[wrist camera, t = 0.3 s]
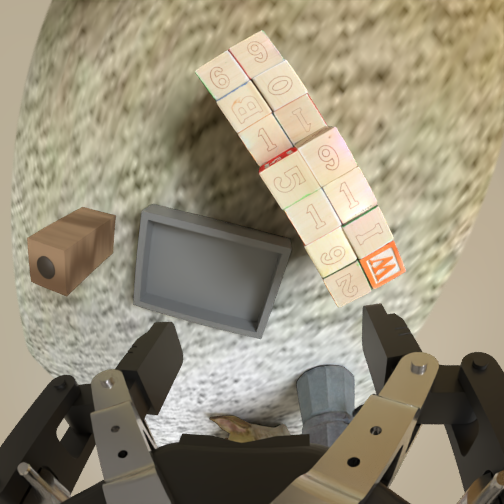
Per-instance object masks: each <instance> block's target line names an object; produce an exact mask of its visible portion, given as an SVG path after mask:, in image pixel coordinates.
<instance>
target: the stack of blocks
mask: <svg viewBox="0 0 504 504" xmlns="http://www.w3.org/2000/svg"><path fill="white" fill-rule="evenodd" d="M195 73H196V75H197V76H198V77H199V79H200V80H201V81H202V83H203V84H204V85H205V87H206V88H207V90H208V91H209V93H210V94H211V95H212V96H213V98H214V99H215V100H216V103H217V105H218V106H219V108H220V109H221V111H222V112H223V114H224V115H225V116H226V118H227V119H228V121H229V122H230V124H231V125H232V127H233V128H234V130H235V131H236V132H237V134H238V136H239V137H240V139H241V140H242V142H243V143H244V145H245V146H246V148H247V149H248V151H249V152H250V154H251V155H252V157H253V158H254V160H255V161H256V163H257V164H258V165H259V166H260V168H259V175H260V177H261V178H262V180H263V181H264V183H265V184H266V186H267V187H268V189H269V191H270V192H271V194H272V195H273V197H274V198H275V200H276V201H277V203H278V204H279V206H280V208H281V209H282V210H284V212H285V213H286V215H287V217H288V218H289V220H290V221H291V223H292V225H293V226H294V228H295V229H296V231H297V233H298V234H299V236H300V238H301V239H302V241H303V245H304V248H305V250H306V251H307V253H308V255H309V256H310V258H311V260H312V261H313V263H314V265H315V266H316V268H317V270H318V272H319V273H320V275H321V277H322V279H323V281H324V283H325V285H326V287H327V288H328V290H329V292H330V294H331V296H332V297H333V299H334V301H335V303H336V305H337V306H338V307H342V306H344V305H346V304H348V303H350V302H352V301H354V300H356V299H358V298H360V297H362V296H364V295H366V294H368V293H370V292H371V290H372V289H376V288H378V287H380V286H382V285H384V284H385V283H387V282H389V281H391V280H392V279H394V278H396V277H397V276H399V275H401V274H402V273H404V272H405V271H406V269H405V266H404V264H403V261H402V259H401V256H400V254H399V251H398V249H397V247H396V244H395V242H394V240H393V235H392V233H391V231H390V229H389V227H388V224H387V222H386V220H385V218H384V216H383V214H382V212H381V210H380V208H379V206H378V205H377V199H376V197H375V195H374V193H373V191H372V189H371V187H370V185H369V183H368V182H367V180H366V178H365V176H364V174H363V172H362V170H361V169H360V167H359V166H358V165H357V162H356V160H355V158H354V157H353V155H352V153H351V151H350V150H349V148H348V146H347V144H346V143H345V141H344V139H343V138H342V136H341V134H340V133H339V131H338V129H337V128H336V127H332V126H327V124H326V122H325V121H324V119H323V117H322V116H321V114H320V112H319V111H318V109H317V108H316V106H315V104H314V103H313V101H312V99H311V98H310V96H309V95H308V91H307V89H306V88H305V86H304V85H303V83H302V82H301V80H300V78H299V77H298V75H297V74H296V73H295V71H294V70H293V68H292V67H291V65H290V64H289V63H288V61H287V60H284V58H283V57H282V55H281V54H280V53H279V51H278V50H277V48H276V47H275V46H274V44H273V43H272V42H271V40H270V39H269V38H268V36H267V35H266V34H265V32H264V31H263V30H262V31H260V32H258V33H256V34H254V35H252V36H250V37H249V38H247V39H245V40H243V41H242V42H240V43H238V44H236V45H234V46H233V47H231V48H230V49H229V50H228V51H226V52H224V53H222V54H220V55H219V56H217V57H216V58H214V59H212V60H211V61H209V62H208V63H206V64H205V65H203V66H202V67H200V68H199V69H197V70H196V71H195Z"/></svg>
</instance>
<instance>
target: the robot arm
mask: <svg viewBox="0 0 504 504" xmlns="http://www.w3.org/2000/svg"><path fill="white" fill-rule="evenodd" d="M362 346H363V352H364V355H365V358H366V361H367V364H368V368H369V371H370V374H371V377H372V381H373V384H374V387H375V391H376V394H377V395H376V394H372V395H371V396H370V397H369V398H368V399H367V401H366V402H365V403H364V405H363V406H362V408H361V409H360V410H359V412H358V413H357V414H356V416H355V417H354V418H353V420H352V421H351V422H350V424H349V425H348V426H347V427H346V429H345V430H344V431H343V432H342V434H341V435H340V436H339V437H338V439H337V440H336V441H335V442H334V443H333V445H332V446H331V447H328V446H325V445H321V444H316V443H310V434H301V435H285V436H274V437H269V438H265V439H260V440H255V441H250V442H244V443H240V442H235V441H231V440H227V439H223V438H219V437H215V436H210V435H194V434H182V436H181V438H180V441H179V442H176V443H171V444H167V445H164V446H161V447H157V444H156V442H155V440H154V438H153V435H152V433H151V431H150V428H149V426H148V424H147V422H146V420H145V416H146V414H150V415H158V414H159V412H160V409H161V407H162V405H163V403H164V401H165V399H166V397H167V395H168V393H169V391H170V388H171V386H172V384H173V382H174V380H175V378H176V376H177V374H178V372H179V370H180V368H181V366H182V363H183V352H182V348H181V345H180V342H179V339H178V336H177V332H176V329H175V326H174V324H173V323H172V322H155V323H154V324H153V326H152V327H151V328H150V330H149V331H148V332H147V333H145V334H144V335H142V336H141V337H140V338H138V339H137V340H136V341H135V343H134V344H133V345H132V348H130V349H129V351H128V353H126V355H125V356H124V357H123V359H122V360H121V361H120V363H119V364H118V366H117V367H116V368H115V369H110V370H105V371H103V372H101V373H99V374H97V375H96V376H95V377H94V378H93V379H92V381H91V384H83V385H78V384H77V382H76V381H75V379H74V377H73V376H71V375H62V376H59V377H57V378H55V379H53V380H52V381H51V382H50V383H49V384H48V385H47V387H46V388H45V389H44V390H43V392H42V393H41V394H40V395H39V397H38V398H37V399H36V400H35V402H34V403H33V404H32V406H31V407H30V408H29V409H28V411H27V412H26V413H25V415H24V416H23V417H22V418H21V420H20V421H19V422H18V424H17V425H16V426H15V428H14V429H13V430H12V432H11V433H10V435H9V436H8V437H7V438H6V440H5V441H4V443H3V444H2V445H1V447H0V504H410V503H409V502H407V501H406V500H404V499H403V498H402V497H400V496H399V495H397V494H396V493H395V492H393V491H392V490H390V489H389V486H390V485H391V483H392V482H393V480H394V478H395V476H396V474H397V473H398V471H399V469H400V467H401V464H402V462H403V461H404V459H405V457H406V455H407V453H408V452H409V450H410V448H411V446H412V444H413V442H414V440H415V438H416V436H417V434H418V432H419V430H420V428H421V426H422V424H444V426H445V428H446V431H447V434H448V437H449V440H450V443H451V446H452V449H453V453H454V456H455V459H456V462H457V466H458V469H459V473H460V476H461V480H462V483H463V488H464V491H465V494H464V495H463V496H462V498H460V500H459V501H458V502H457V504H504V372H503V371H502V369H501V367H500V366H499V365H498V363H497V361H496V360H495V359H494V358H493V357H492V356H490V355H488V354H486V353H482V352H474V353H470V354H468V355H466V356H465V357H464V358H463V359H462V362H461V365H460V366H459V365H451V366H450V365H449V366H448V365H447V366H446V365H439V364H438V361H437V360H436V358H435V357H433V356H432V355H430V354H427V353H423V352H422V351H421V349H420V347H419V345H418V344H417V342H416V340H415V338H414V337H413V335H412V334H411V332H410V330H409V328H407V325H406V323H405V322H404V320H403V319H402V318H401V317H399V316H398V315H396V314H395V313H394V314H387V313H386V311H385V309H384V307H383V306H382V304H373V305H366V306H363V319H362ZM63 418H65V420H66V421H67V423H68V424H69V426H70V427H69V428H68V430H67V431H66V433H65V435H64V436H63V438H62V439H61V441H59V440H58V438H57V435H56V431H57V428H58V426H59V424H60V423H61V421H62V420H63ZM95 445H96V447H97V452H98V456H99V460H100V465H101V469H102V473H103V477H104V480H102V481H101V482H99V483H97V484H95V485H93V486H91V487H90V488H88V489H86V490H84V491H82V492H80V493H78V494H76V495H74V496H72V497H71V496H70V495H71V492H72V491H73V488H74V486H75V484H76V482H77V480H78V478H79V476H80V474H81V472H82V470H83V468H84V466H85V464H86V462H87V460H88V458H89V456H90V455H91V453H92V450H93V449H94V447H95Z"/></svg>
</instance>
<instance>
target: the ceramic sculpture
mask: <svg viewBox="0 0 504 504" xmlns="http://www.w3.org/2000/svg"><path fill="white" fill-rule="evenodd" d="M209 419H210V420H212V421H214V422H215V423H217V424H218V425H219V426H220V428H221V429H222V430H224V431H226V432H228V433H230V434H229V437H228V438H225V439H227V440H231V441H235V442H240V443H244V442H250V441H255V440H260V439H265V438H269V437H274V436H285V435H290V433H289V431H288V428H287V426H286V425H285V424H280V425H279V426H277V427H274V428H273V427H266V426H261V425H256V424H250V423H248V422H246V421H244V420H242V419H240V418H238V417H235V416H216V417H210V418H209Z"/></svg>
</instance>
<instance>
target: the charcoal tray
mask: <svg viewBox="0 0 504 504" xmlns="http://www.w3.org/2000/svg"><path fill="white" fill-rule="evenodd" d="M291 250H292V247H291V240H290V239H289V238H285V237H282V236H278V235H274V234H270V233H266V232H263V231H259V230H255V229H251V228H247V227H243V226H239V225H235V224H232V223H228V222H224V221H220V220H216V219H212V218H208V217H204V216H200V215H196V214H192V213H188V212H184V211H180V210H176V209H172V208H167V207H163V206H159V205H155V204H151V205H149V206H148V207H147V208H145V209H144V210H142V214H141V222H140V230H139V239H138V249H137V259H136V271H135V285H134V302H133V305H136V306H139V307H142V308H146V309H149V310H152V311H156V312H159V313H162V314H166V315H169V316H173V317H176V318H180V319H183V320H187V321H190V322H194V323H198V324H201V325H205V326H209V327H213V328H217V329H221V330H225V331H229V332H233V333H237V334H241V335H245V336H249V337H254V338H258V339H261V338H262V335H263V333H264V330H265V327H266V324H267V321H268V318H269V316H270V313H271V310H272V307H273V304H274V301H275V298H276V295H277V292H278V289H279V286H280V283H281V280H282V278H283V275H284V272H285V269H286V266H287V263H288V259H289V256H290V253H291Z"/></svg>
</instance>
